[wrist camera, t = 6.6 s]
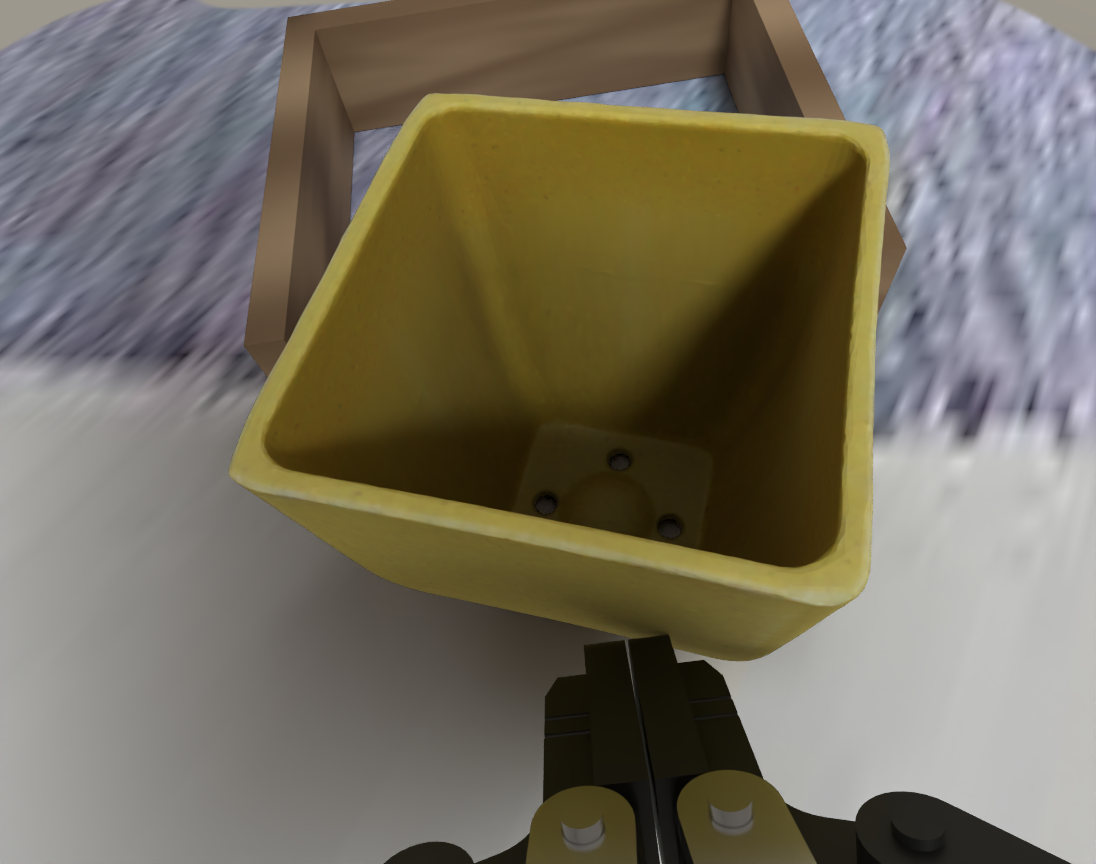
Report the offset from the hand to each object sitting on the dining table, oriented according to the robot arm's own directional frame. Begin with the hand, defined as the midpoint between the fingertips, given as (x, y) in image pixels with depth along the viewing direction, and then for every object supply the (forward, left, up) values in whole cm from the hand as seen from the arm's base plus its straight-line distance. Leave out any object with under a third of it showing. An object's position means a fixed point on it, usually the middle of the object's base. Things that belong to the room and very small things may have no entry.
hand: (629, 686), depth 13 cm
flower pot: (+3, +4, -4) cm, 7 cm away
